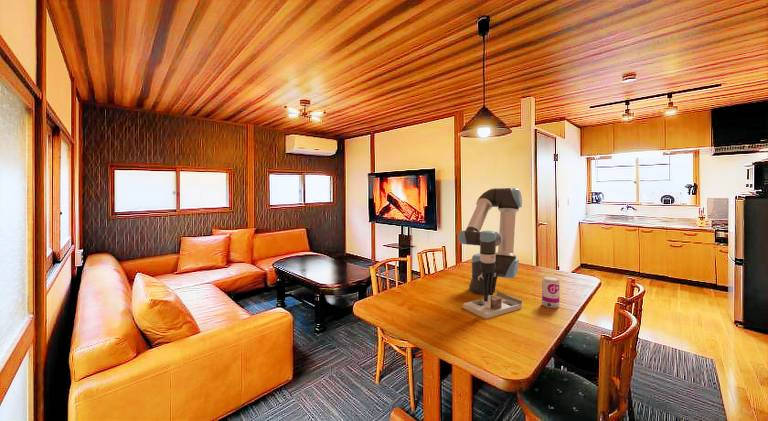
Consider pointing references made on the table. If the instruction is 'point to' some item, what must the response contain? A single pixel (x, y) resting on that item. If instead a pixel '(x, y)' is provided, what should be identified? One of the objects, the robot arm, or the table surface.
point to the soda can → (550, 292)
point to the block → (496, 302)
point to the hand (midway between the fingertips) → (487, 307)
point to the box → (480, 309)
